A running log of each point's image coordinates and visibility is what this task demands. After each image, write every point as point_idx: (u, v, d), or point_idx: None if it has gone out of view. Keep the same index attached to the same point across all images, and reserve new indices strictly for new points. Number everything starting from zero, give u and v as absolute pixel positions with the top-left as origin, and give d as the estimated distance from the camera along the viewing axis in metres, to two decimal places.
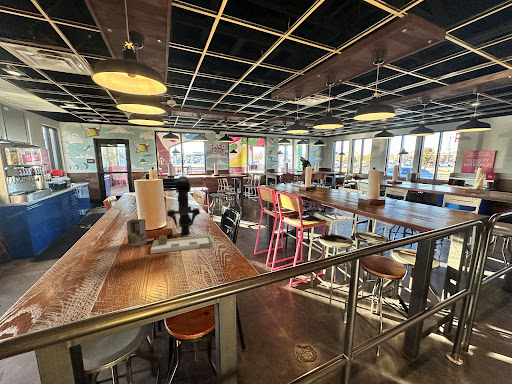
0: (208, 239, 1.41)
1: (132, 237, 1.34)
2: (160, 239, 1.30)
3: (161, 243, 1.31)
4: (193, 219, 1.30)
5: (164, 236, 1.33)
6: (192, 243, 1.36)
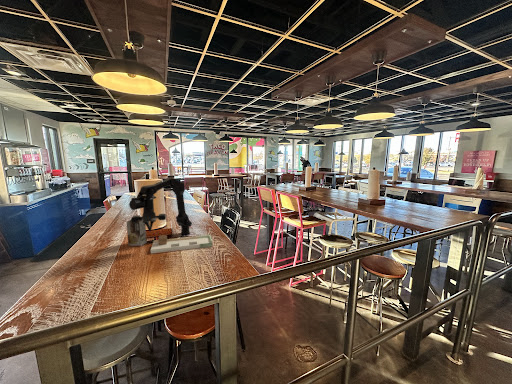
0: (208, 239, 1.41)
1: (132, 237, 1.34)
2: (160, 239, 1.30)
3: (161, 243, 1.31)
4: (151, 225, 1.28)
5: (164, 236, 1.33)
6: (192, 243, 1.36)
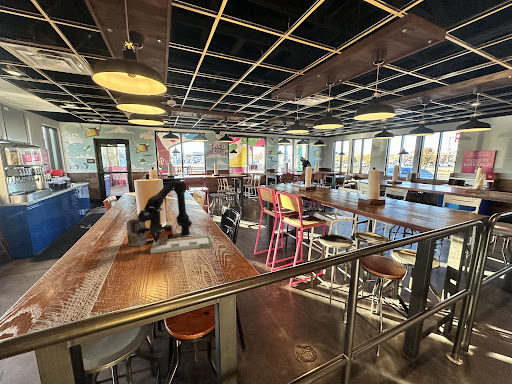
0: (208, 239, 1.41)
1: (132, 237, 1.34)
2: (161, 239, 1.30)
3: (161, 243, 1.31)
4: (157, 237, 1.30)
5: (165, 236, 1.33)
6: (192, 243, 1.36)
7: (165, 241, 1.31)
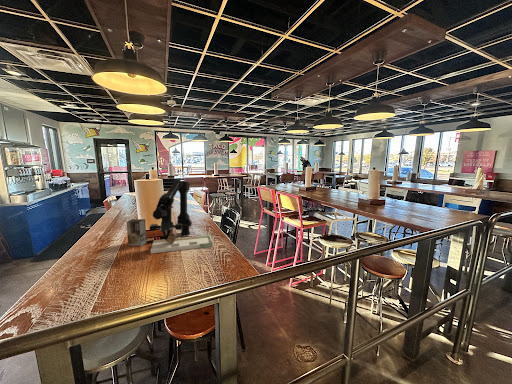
0: (208, 239, 1.41)
1: (132, 237, 1.34)
2: (170, 236, 1.31)
3: (169, 240, 1.32)
4: (168, 234, 1.32)
5: (174, 235, 1.34)
6: (192, 243, 1.36)
7: (172, 240, 1.32)
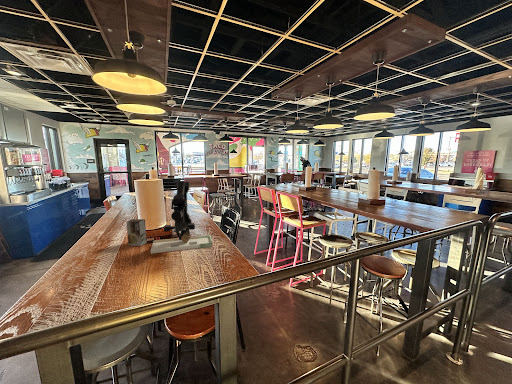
0: (208, 239, 1.41)
1: (132, 237, 1.34)
2: (184, 236, 1.33)
3: (183, 239, 1.34)
4: (181, 234, 1.35)
5: (189, 235, 1.36)
6: (192, 243, 1.36)
7: (187, 239, 1.34)
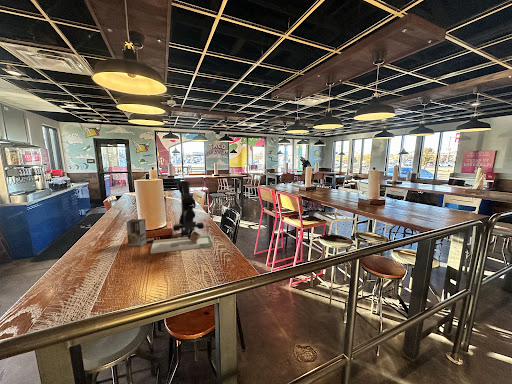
0: (208, 239, 1.41)
1: (132, 237, 1.34)
2: (192, 235, 1.34)
3: (191, 239, 1.34)
4: (190, 234, 1.37)
5: (197, 234, 1.36)
6: (192, 243, 1.36)
7: (195, 239, 1.34)
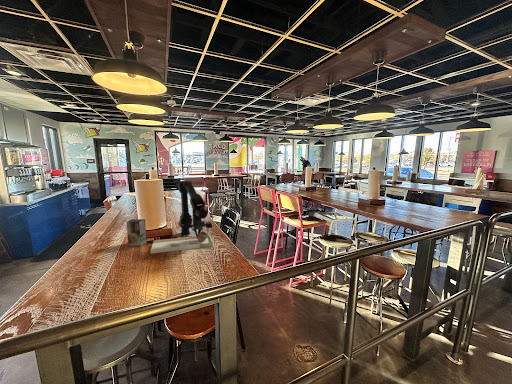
0: (208, 239, 1.41)
1: (132, 237, 1.34)
2: (200, 235, 1.35)
3: (199, 238, 1.35)
4: None
5: (205, 234, 1.37)
6: (192, 243, 1.36)
7: (202, 239, 1.35)
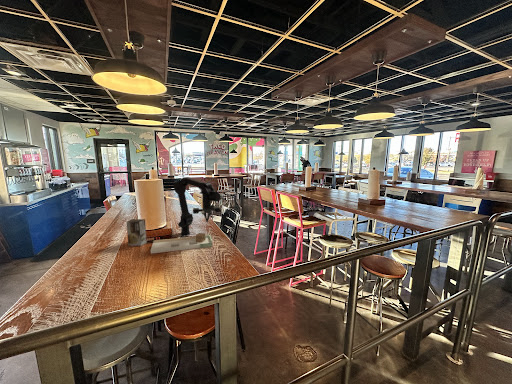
0: (208, 239, 1.41)
1: (132, 237, 1.34)
2: (197, 236, 1.36)
3: (198, 240, 1.36)
4: (208, 217, 1.47)
5: (202, 234, 1.37)
6: (192, 243, 1.36)
7: (201, 239, 1.35)
